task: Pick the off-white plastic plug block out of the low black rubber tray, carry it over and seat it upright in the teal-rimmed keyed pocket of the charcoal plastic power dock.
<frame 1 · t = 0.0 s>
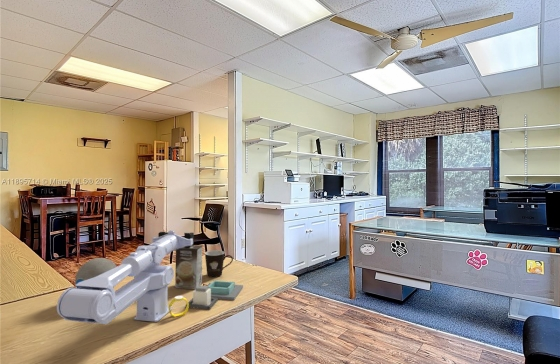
hand: (183, 234, 114), 22 cm above the table, tool horizontal, fingers open, 7 cm apart
watch: (178, 315, 94), on the table
coffee box: (188, 286, 119), on the table
coffee mug: (217, 275, 132), on the table
dock: (221, 292, 113), on the table
webcam: (97, 301, 104), on the table
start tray: (202, 304, 103), on the table
plug: (202, 295, 103), in the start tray
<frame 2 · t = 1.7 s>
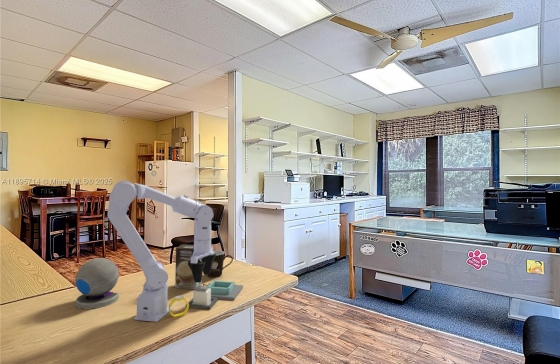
hand: (202, 278, 102), 9 cm above the table, tool pointing down, fingers open, 7 cm apart
nothing on the table moved.
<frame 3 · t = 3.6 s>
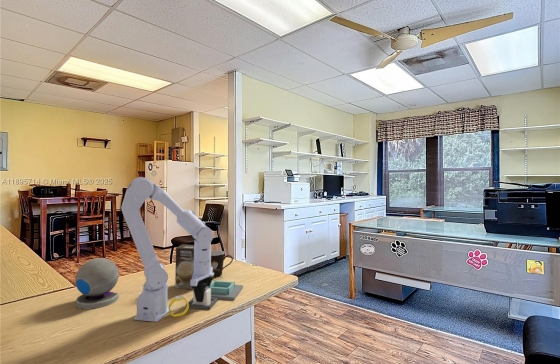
hand: (202, 299, 103), 2 cm above the table, tool pointing down, fingers closed on plug, 3 cm apart
plug: (202, 295, 103), in the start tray, touching gripper
everything else where it was.
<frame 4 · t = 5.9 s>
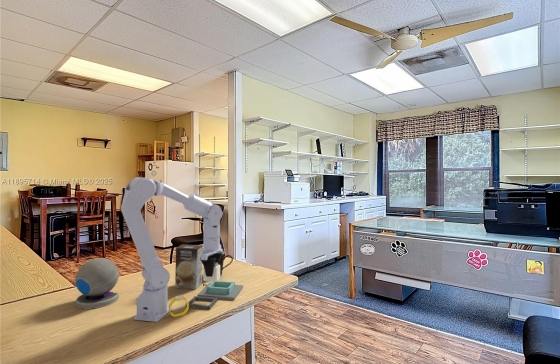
hand: (211, 274, 107), 9 cm above the table, tool pointing down, fingers closed on plug, 3 cm apart
plug: (211, 271, 107), point 10 cm above the table, touching gripper
everything else where it was.
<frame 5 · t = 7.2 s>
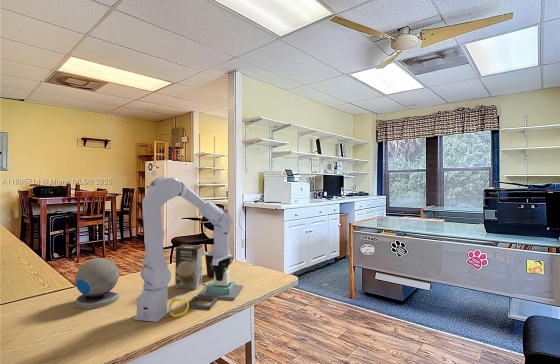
hand: (221, 278, 113), 5 cm above the table, tool pointing down, fingers closed on plug, 3 cm apart
plug: (222, 276, 113), point 6 cm above the table, touching gripper
everything else where it was.
when the fingers open (4 cm above the table, at t = 8.3 s): plug stays where it is, resting on dock.
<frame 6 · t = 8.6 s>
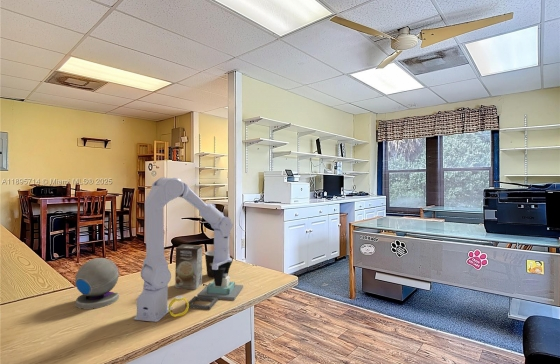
hand: (221, 282, 113), 4 cm above the table, tool pointing down, fingers open, 6 cm apart
plug: (221, 282, 113), in the dock, point 4 cm above the table
everything else where it was.
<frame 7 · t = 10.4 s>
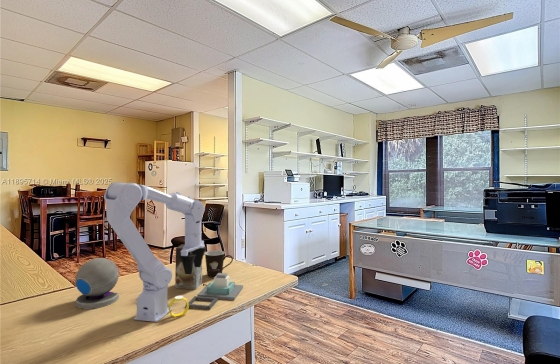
hand: (193, 270, 107), 10 cm above the table, tool pointing down, fingers open, 7 cm apart
nothing on the table moved.
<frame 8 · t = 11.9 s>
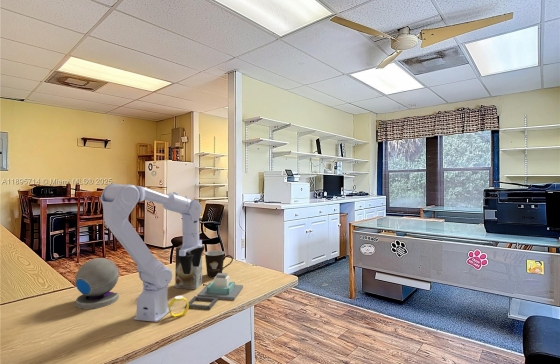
hand: (191, 269, 107), 10 cm above the table, tool pointing down, fingers open, 7 cm apart
nothing on the table moved.
at the end: plug 0.3 cm off-centre on the dock, point 4.0 cm above the dock's base; plug tilted 0°; the gripper is holding nothing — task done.
